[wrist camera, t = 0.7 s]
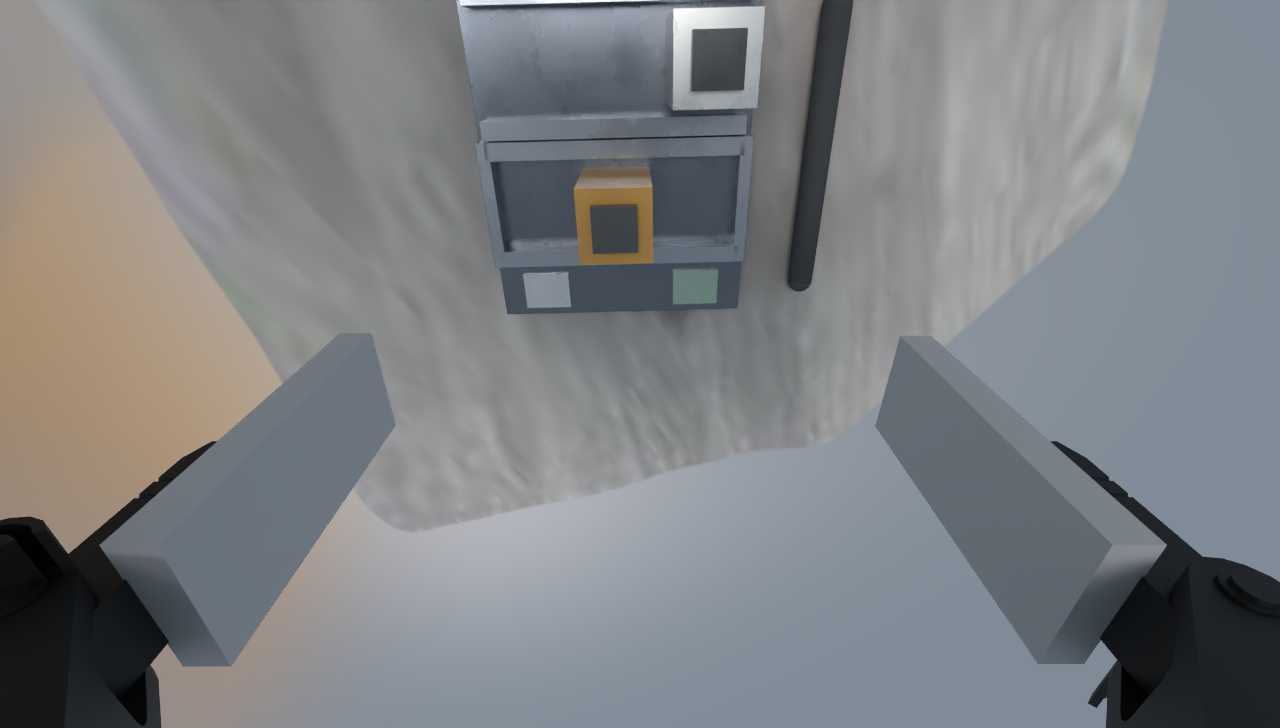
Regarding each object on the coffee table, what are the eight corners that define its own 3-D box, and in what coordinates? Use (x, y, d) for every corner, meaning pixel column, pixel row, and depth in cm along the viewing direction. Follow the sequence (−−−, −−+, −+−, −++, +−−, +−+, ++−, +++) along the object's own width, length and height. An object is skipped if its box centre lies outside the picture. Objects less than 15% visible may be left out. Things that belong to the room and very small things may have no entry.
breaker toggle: (583, 168, 32) (572, 192, 26) (649, 166, 32) (652, 189, 26) (588, 233, 34) (578, 268, 28) (649, 232, 34) (653, 266, 28)
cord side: (820, -12, 29) (829, -15, 28) (849, -12, 29) (860, -16, 28) (784, 286, 38) (789, 295, 37) (806, 286, 38) (812, 294, 37)
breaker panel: (463, -18, 29) (404, -45, 21) (754, -25, 29) (797, -56, 21) (513, 302, 38) (484, 360, 31) (732, 297, 38) (756, 353, 31)
